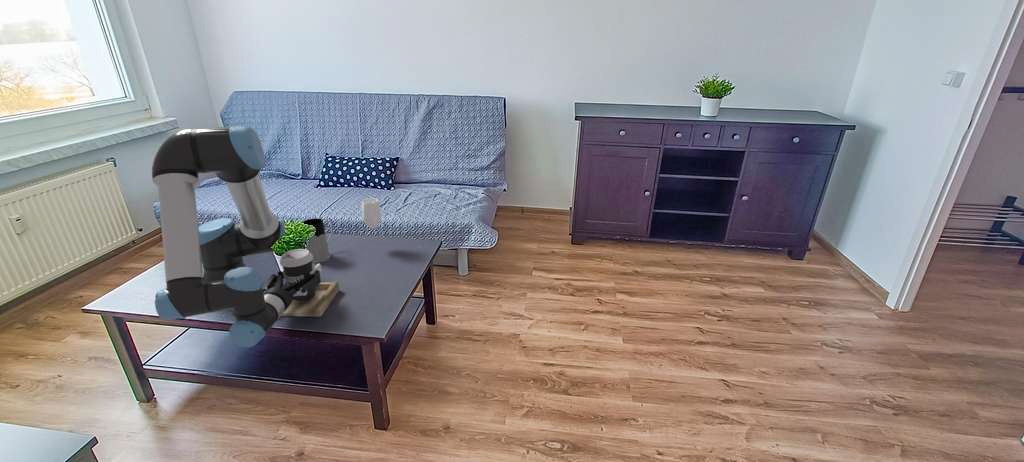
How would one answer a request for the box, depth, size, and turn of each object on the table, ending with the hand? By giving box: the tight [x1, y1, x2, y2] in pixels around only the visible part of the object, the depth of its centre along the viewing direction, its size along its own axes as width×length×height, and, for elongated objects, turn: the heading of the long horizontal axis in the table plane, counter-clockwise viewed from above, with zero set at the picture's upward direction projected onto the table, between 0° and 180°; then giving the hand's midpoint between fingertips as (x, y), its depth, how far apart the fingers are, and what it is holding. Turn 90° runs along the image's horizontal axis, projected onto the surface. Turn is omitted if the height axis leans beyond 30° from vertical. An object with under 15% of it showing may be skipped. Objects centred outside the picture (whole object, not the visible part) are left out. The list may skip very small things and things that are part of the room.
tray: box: [280, 280, 340, 318], centre depth 150 cm, size 16×16×4 cm
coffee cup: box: [279, 248, 315, 301], centre depth 146 cm, size 10×10×15 cm
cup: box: [361, 197, 382, 230], centre depth 184 cm, size 7×7×21 cm
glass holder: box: [301, 217, 334, 264], centre depth 180 cm, size 9×14×15 cm, turn 158°
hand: (306, 267), depth 151 cm, fingers closed on coffee cup, 8 cm apart
